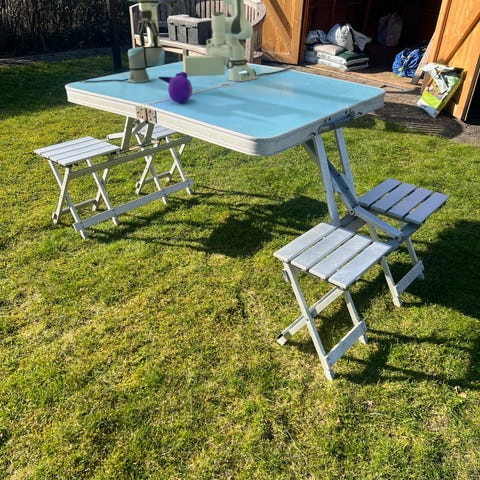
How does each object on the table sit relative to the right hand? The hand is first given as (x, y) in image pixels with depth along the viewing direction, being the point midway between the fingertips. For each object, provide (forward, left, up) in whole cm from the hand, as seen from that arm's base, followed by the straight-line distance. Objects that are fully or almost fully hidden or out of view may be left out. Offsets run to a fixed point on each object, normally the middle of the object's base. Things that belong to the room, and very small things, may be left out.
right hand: (220, 64), depth 290 cm
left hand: (+37, -27, +10) cm, 47 cm away
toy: (+33, +3, -18) cm, 38 cm away
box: (+11, -2, -6) cm, 12 cm away
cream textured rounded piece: (-47, -71, -18) cm, 87 cm away
